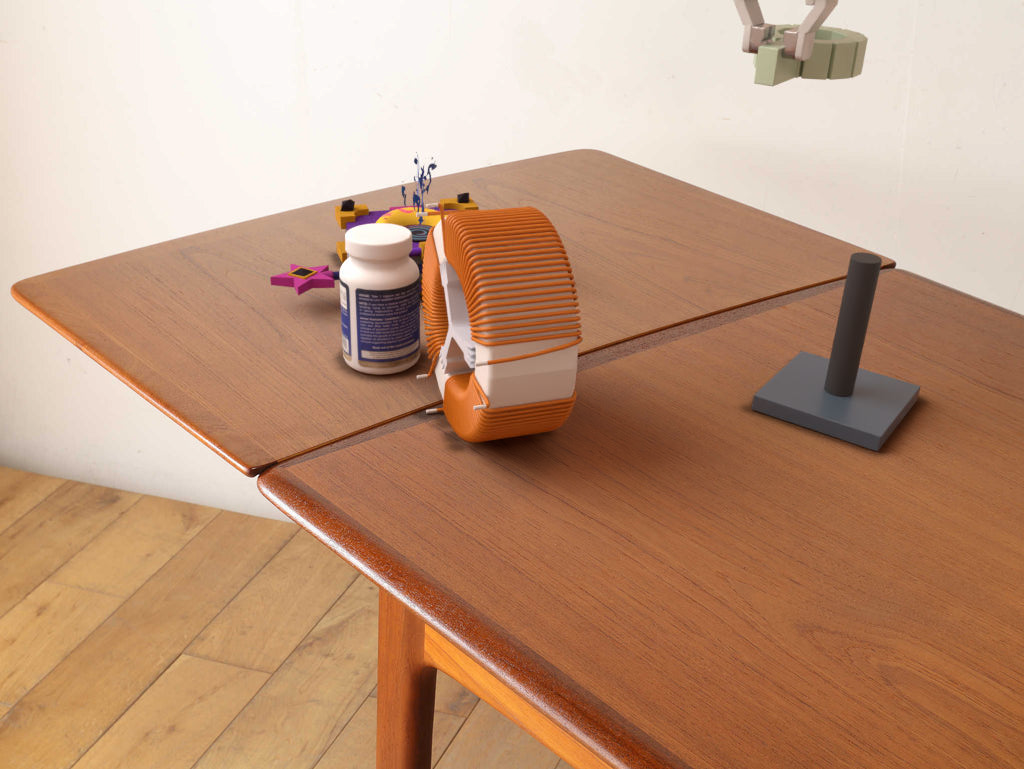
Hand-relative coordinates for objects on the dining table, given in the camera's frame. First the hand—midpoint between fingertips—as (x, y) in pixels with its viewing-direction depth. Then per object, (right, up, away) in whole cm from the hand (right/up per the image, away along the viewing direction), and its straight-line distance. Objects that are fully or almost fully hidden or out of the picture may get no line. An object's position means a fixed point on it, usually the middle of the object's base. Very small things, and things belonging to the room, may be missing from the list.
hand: (775, 55), depth 70 cm
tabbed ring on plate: (+2, 0, +4) cm, 4 cm away
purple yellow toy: (-27, -12, +23) cm, 38 cm away
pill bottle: (-27, -20, +9) cm, 35 cm away
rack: (+6, -23, +5) cm, 24 cm away
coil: (-19, -25, +1) cm, 31 cm away
